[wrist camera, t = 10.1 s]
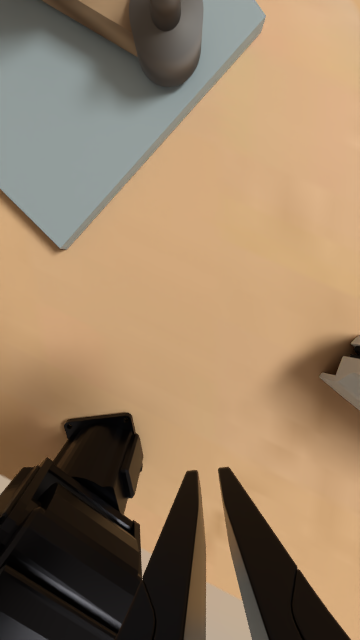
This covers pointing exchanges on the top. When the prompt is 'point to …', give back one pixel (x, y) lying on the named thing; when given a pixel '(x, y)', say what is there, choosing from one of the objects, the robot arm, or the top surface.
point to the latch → (146, 32)
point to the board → (92, 108)
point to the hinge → (347, 377)
